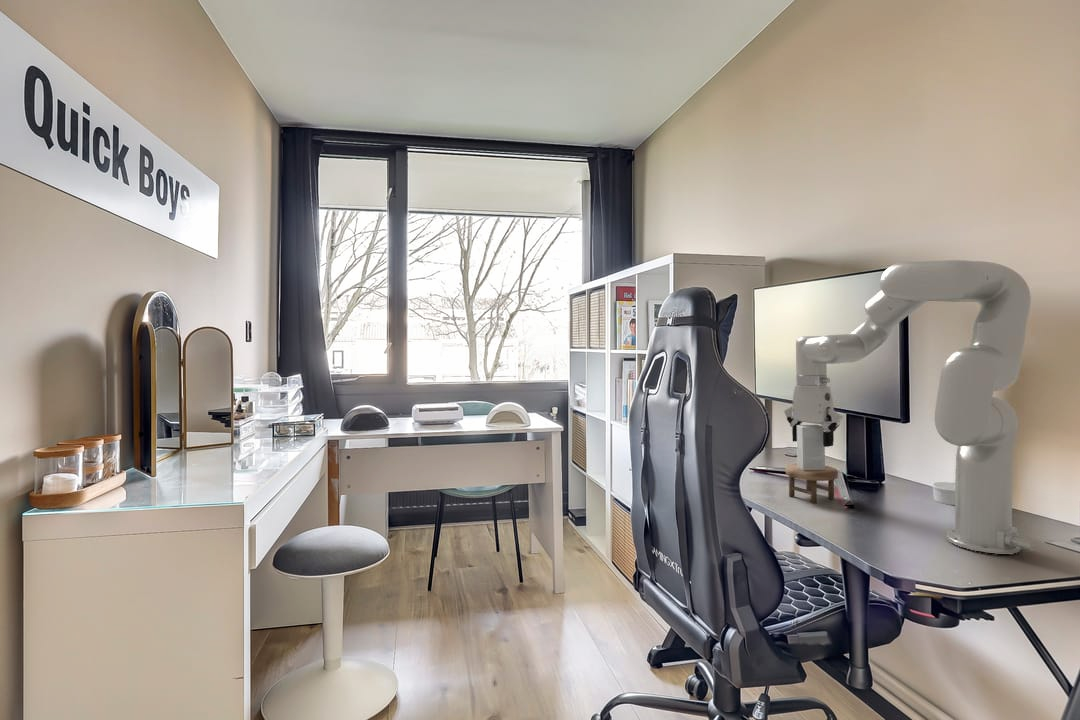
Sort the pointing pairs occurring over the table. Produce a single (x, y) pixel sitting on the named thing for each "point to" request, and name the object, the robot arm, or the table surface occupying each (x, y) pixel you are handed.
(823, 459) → the skincare box
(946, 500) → the ramekin
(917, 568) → the table surface
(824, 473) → the walnut stool
